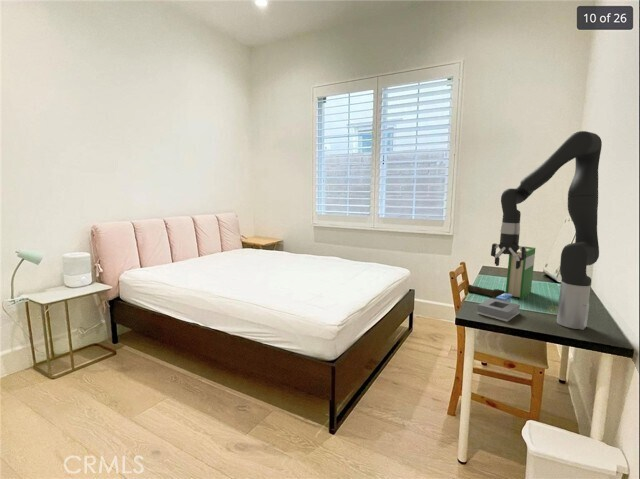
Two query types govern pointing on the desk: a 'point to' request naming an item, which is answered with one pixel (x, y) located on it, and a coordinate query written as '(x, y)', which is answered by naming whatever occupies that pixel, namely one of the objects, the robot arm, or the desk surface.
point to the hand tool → (485, 291)
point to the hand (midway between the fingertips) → (507, 267)
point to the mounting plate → (498, 309)
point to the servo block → (505, 297)
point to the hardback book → (520, 274)
